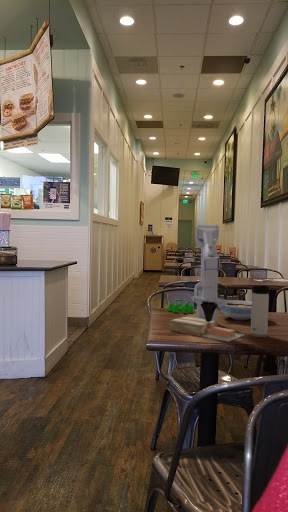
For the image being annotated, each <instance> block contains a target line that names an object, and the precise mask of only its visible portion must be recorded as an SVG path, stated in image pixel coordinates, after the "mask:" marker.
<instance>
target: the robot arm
mask: <svg viewBox="0 0 288 512" xmlns="http://www.w3.org/2000/svg"><path fill="white" fill-rule="evenodd" d="M219 231H220V227H219V225H218V224H198V223H197V224H196V226H195V242H196V245H198V246H199V247H200V281H199V282H198V283H196V284H195V285H194V292H193V295H192V296H191V297H192V298H191V300H192V302H194V303H195V304H196V317H197V318H203V319H206V322H211V320H216V321H218V320H217V315H218V309H217V308H218V304H220V305H227V300H228V299H223V298H218V295H219V294H218V283H219V281H218V279H219V277H218V276H219V271H220V266H221V261H220V256H219V255H218V249H217V247H216V245H217V243H218V240H219V239H218V238H219V233H220V232H219Z"/></svg>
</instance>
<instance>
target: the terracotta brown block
mask: <svg viewBox="0 0 288 512" xmlns="http://www.w3.org/2000/svg"><path fill="white" fill-rule="evenodd" d="M235 333H236V330H235V329H231V328H230V329H229V328H224V327H220V326H217V327H211V328H207V332H206V334H210V335H215V336H221V337H226V338H229V337H231V336H234V335H235Z"/></svg>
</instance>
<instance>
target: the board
mask: <svg viewBox="0 0 288 512" xmlns="http://www.w3.org/2000/svg"><path fill="white" fill-rule="evenodd" d="M218 324H219V321H218V320H217V321H216V320H211V322H206V319H203V318H197V316H192V315H188V316H183V317H179V318H178V317H177V318H175V319H174V318H173V319H170V320H169V331H172V332H178V333H182V334H186V335H192V336H196V337H202V335H205V334H206V332H207V328H211V327H219V325H218Z"/></svg>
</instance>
